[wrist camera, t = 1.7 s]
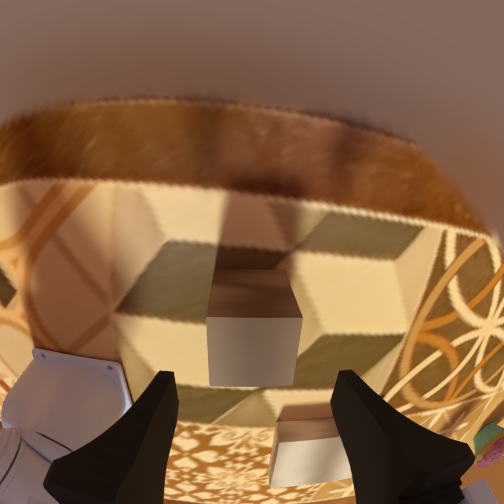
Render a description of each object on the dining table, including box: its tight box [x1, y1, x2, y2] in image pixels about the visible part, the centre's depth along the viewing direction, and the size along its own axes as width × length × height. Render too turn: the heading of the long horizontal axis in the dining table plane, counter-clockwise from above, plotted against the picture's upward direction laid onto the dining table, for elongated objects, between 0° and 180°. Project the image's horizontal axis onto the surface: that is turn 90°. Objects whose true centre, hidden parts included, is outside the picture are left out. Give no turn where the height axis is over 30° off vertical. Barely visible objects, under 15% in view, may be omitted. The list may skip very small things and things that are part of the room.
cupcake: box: [473, 423, 504, 468], centre depth 26 cm, size 9×8×12 cm
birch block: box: [268, 417, 352, 488], centre depth 25 cm, size 10×10×3 cm
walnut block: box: [206, 269, 303, 387], centre depth 17 cm, size 4×4×6 cm
